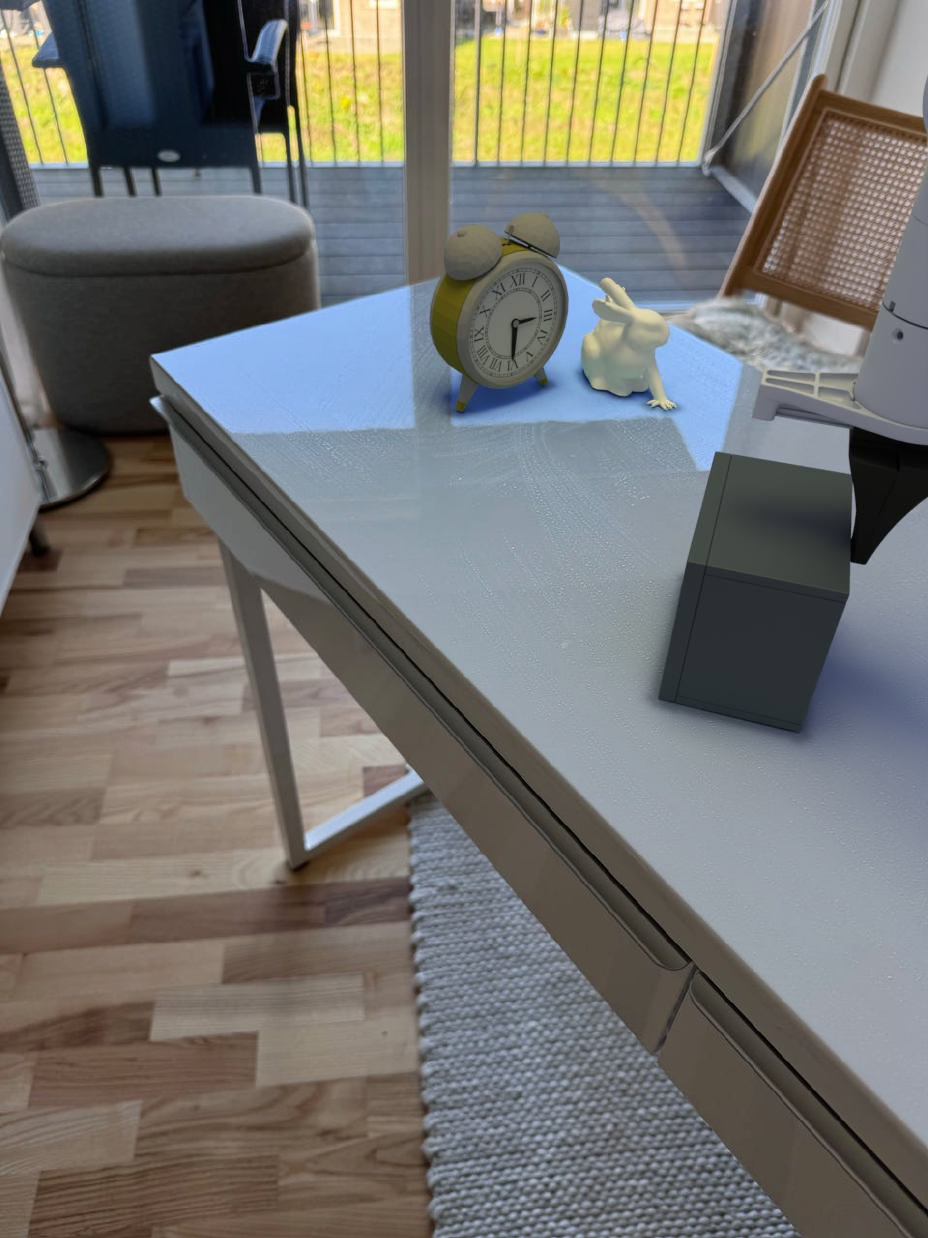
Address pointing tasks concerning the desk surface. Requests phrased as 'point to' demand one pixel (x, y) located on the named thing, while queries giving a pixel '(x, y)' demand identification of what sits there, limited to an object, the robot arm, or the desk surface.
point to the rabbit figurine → (624, 346)
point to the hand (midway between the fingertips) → (857, 553)
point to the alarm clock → (499, 304)
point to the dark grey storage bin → (761, 590)
